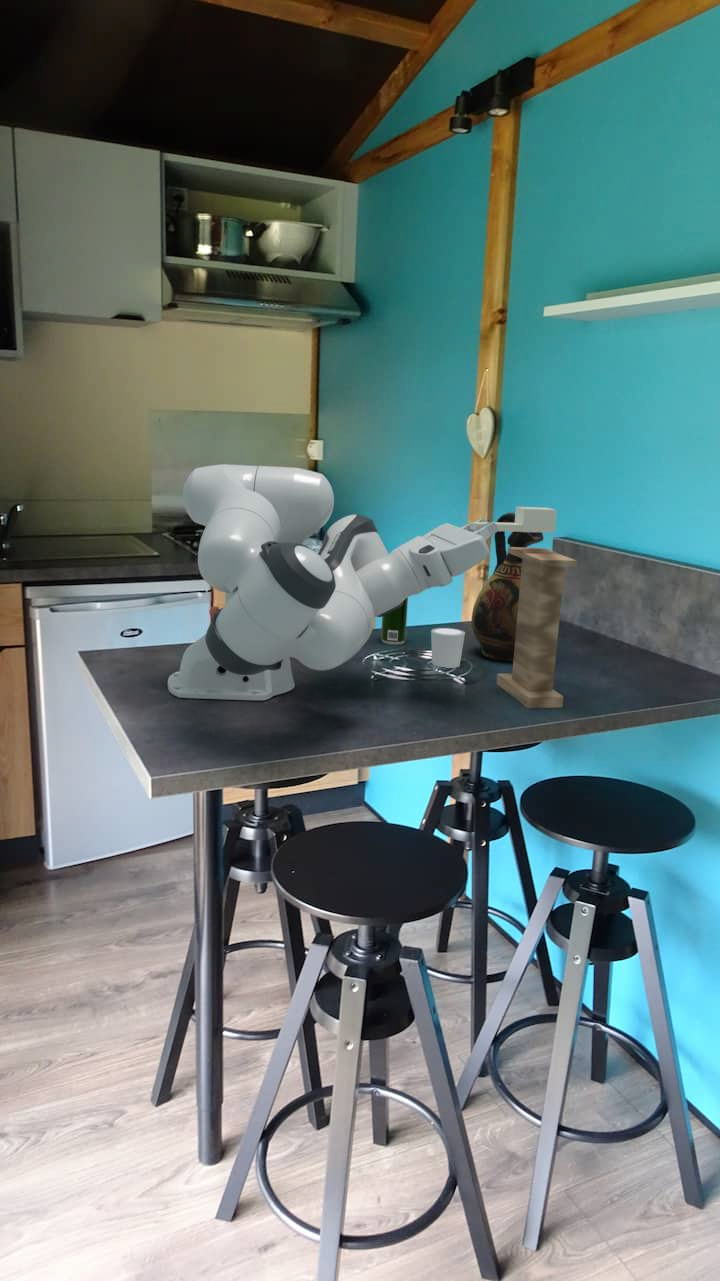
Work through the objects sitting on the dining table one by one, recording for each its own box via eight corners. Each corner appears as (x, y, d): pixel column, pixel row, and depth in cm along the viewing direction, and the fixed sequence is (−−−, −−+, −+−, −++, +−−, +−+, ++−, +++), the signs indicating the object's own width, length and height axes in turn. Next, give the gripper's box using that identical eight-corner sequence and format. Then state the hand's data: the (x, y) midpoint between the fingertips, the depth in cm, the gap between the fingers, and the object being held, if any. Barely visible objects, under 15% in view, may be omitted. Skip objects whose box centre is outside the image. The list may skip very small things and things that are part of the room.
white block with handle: (476, 531, 160) (478, 507, 159) (468, 528, 163) (470, 505, 162) (554, 532, 163) (556, 509, 162) (545, 529, 167) (547, 507, 166)
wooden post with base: (527, 708, 161) (541, 559, 155) (496, 683, 175) (508, 546, 169) (562, 707, 162) (577, 559, 156) (528, 683, 177) (541, 546, 170)
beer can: (406, 645, 201) (409, 591, 198) (381, 644, 201) (384, 590, 198) (403, 639, 207) (407, 586, 204) (379, 639, 206) (382, 586, 203)
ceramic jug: (557, 660, 195) (571, 517, 188) (503, 668, 186) (515, 519, 179) (502, 642, 208) (513, 508, 201) (449, 649, 200) (459, 510, 193)
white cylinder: (465, 669, 184) (468, 635, 182) (431, 668, 184) (433, 634, 182) (460, 660, 191) (462, 627, 189) (426, 659, 190) (429, 626, 189)
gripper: (414, 568, 172) (478, 532, 173) (448, 588, 152) (520, 547, 153) (399, 538, 170) (464, 502, 171) (432, 555, 150) (504, 514, 151)
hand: (491, 524), depth 162 cm, fingers closed on white block with handle, 3 cm apart
